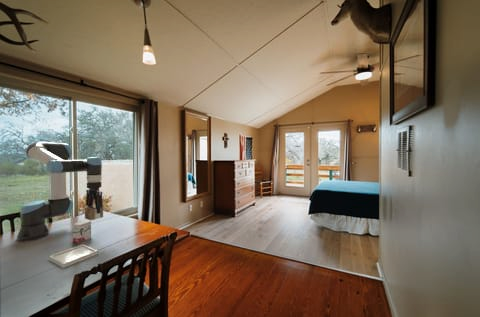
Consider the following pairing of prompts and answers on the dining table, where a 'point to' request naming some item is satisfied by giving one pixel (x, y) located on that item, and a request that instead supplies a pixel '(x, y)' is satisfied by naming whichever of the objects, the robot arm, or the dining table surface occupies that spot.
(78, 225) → the ink box
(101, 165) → the robot arm
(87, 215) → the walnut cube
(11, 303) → the dining table surface
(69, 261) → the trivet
